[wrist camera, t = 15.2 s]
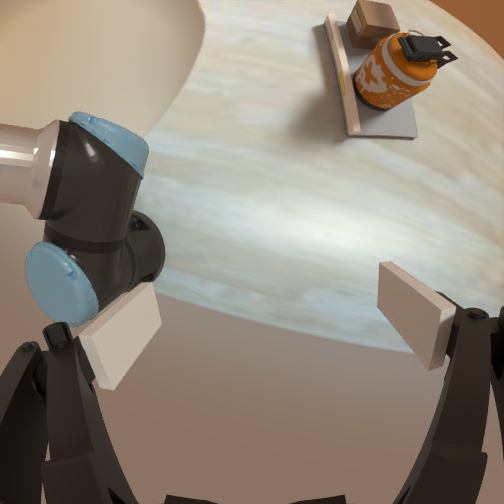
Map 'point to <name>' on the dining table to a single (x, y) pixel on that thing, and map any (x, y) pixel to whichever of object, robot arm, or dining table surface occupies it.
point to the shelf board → (355, 112)
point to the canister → (399, 69)
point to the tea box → (371, 24)
